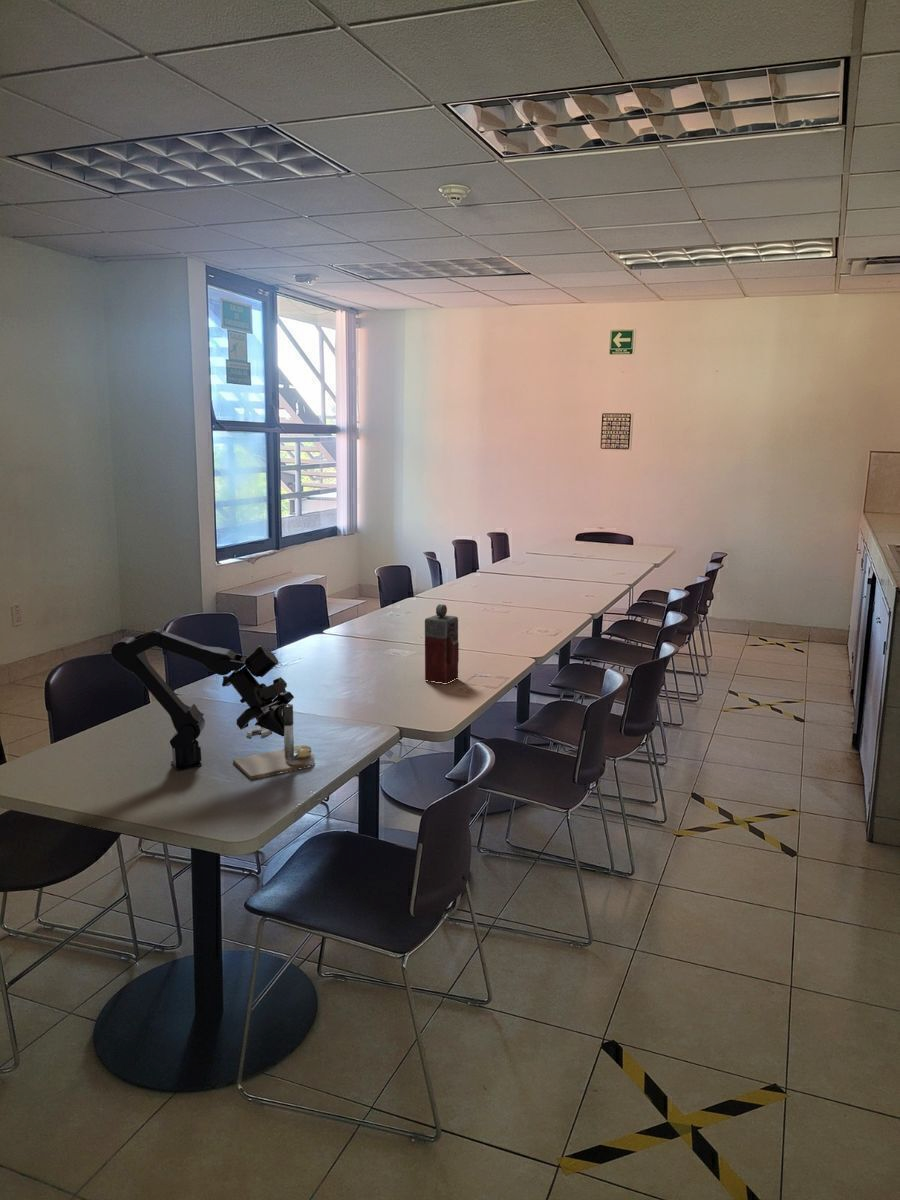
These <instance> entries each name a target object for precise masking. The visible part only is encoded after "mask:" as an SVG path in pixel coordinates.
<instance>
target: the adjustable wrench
mask: <svg viewBox="0 0 900 1200" xmlns="http://www.w3.org/2000/svg"><path fill="white" fill-rule="evenodd" d="M282 716H283V713H282ZM259 733H261V734H260V735H261V738H264V737H266V735H267V736H269V735H270V734H272V733H273V732H272V731H270V730H268V729H265V728H263V727H260V726H258V725H257V726H255V727H252V728H249V729H247V731H246V736H247V737H248V738H252V737H253V736H254V735H257V734H259ZM253 734H254V735H253ZM263 736H264V737H263Z"/></svg>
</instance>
